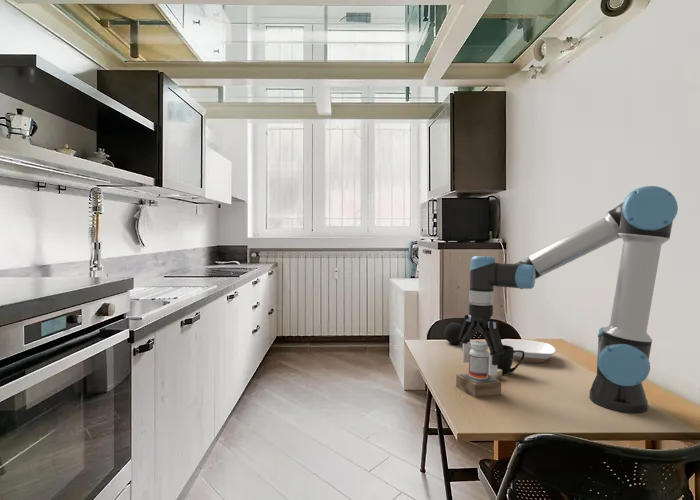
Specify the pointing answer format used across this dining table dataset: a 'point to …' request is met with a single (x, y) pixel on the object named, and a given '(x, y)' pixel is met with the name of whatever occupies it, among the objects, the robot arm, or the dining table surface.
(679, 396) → the dining table surface
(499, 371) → the oak offcut
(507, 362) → the mug
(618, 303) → the robot arm
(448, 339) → the speaker
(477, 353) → the pill bottle
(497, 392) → the walnut stand
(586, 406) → the dining table surface
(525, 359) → the bowl
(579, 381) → the dining table surface
